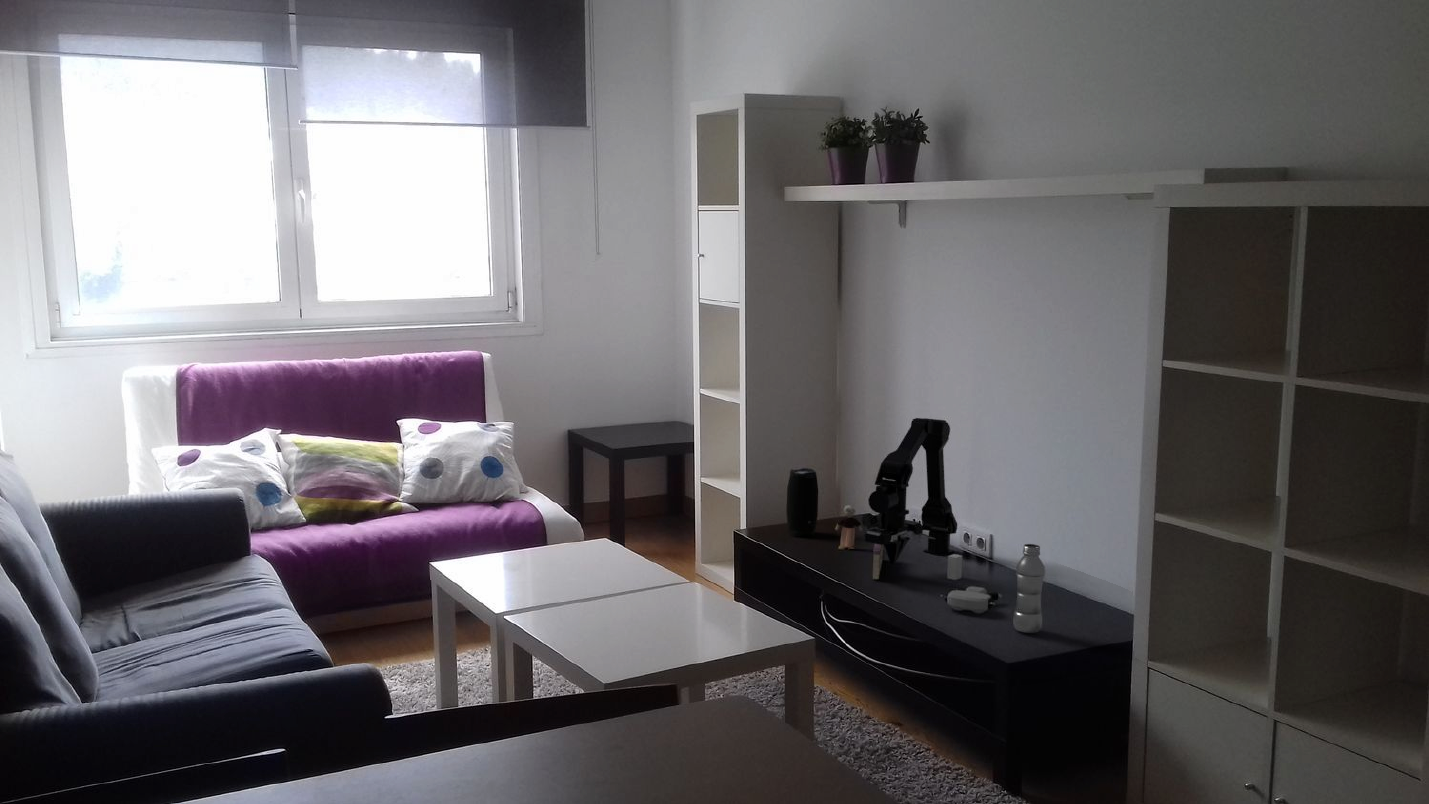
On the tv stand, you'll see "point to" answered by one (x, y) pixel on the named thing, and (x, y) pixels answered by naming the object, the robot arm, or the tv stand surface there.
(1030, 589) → the plastic bottle
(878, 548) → the beige flat panel
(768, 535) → the tv stand surface
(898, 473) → the robot arm
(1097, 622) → the tv stand surface
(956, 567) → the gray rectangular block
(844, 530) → the grandmother figurine
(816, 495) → the portable speaker
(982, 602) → the robot toy
